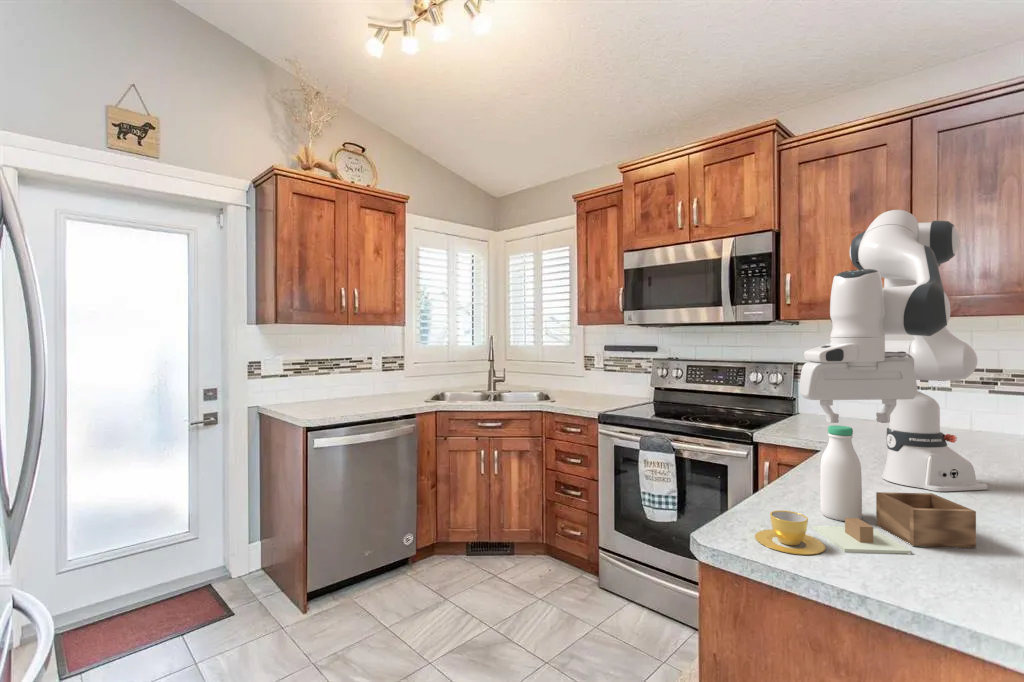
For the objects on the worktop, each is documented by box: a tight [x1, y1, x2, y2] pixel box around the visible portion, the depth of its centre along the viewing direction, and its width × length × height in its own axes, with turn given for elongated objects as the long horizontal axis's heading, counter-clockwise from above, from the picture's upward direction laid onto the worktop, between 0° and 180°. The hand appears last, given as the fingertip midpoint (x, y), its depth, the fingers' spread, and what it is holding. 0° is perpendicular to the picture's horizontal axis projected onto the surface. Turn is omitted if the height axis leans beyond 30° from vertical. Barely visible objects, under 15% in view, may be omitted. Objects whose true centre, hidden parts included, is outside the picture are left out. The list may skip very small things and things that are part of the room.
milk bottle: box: [819, 425, 863, 522], centre depth 111 cm, size 8×8×20 cm
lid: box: [812, 518, 912, 554], centre depth 98 cm, size 12×12×4 cm
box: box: [875, 491, 977, 549], centre depth 100 cm, size 11×11×7 cm
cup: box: [754, 510, 826, 555], centre depth 97 cm, size 12×12×5 cm
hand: (857, 422), depth 98 cm, fingers open, 8 cm apart
